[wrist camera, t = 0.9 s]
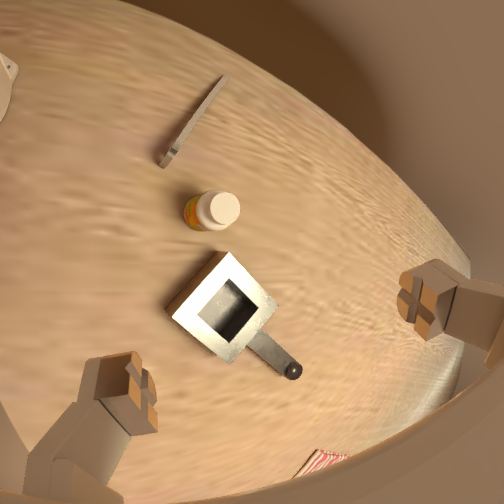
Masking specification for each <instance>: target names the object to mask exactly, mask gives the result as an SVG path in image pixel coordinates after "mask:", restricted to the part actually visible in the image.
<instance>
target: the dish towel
mask: <svg viewBox="0 0 504 504" xmlns="http://www.w3.org/2000/svg"><path fill="white" fill-rule="evenodd" d="M349 457H351V455H344V454H340V453H332V452H329V451H324V450H323V451H321V450H316V451H315V452H314V454H313V455H312V456H311V457H310V458H309V460H308V461H307V462H306V463H305V465H304V466H303V467H302V468H301V469H300V470H299V472H298V473H297V474H296V475H295V476H294V477H293V478H296V477H299V476H302V475H305V474H308V473H311V472H314V471H316V470H319V469H322V468H324V467H327V466H330V465H332V464H335V463H337V462H339V461H342V460H344V459H346V458H349ZM293 478H292V479H293Z"/></svg>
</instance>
